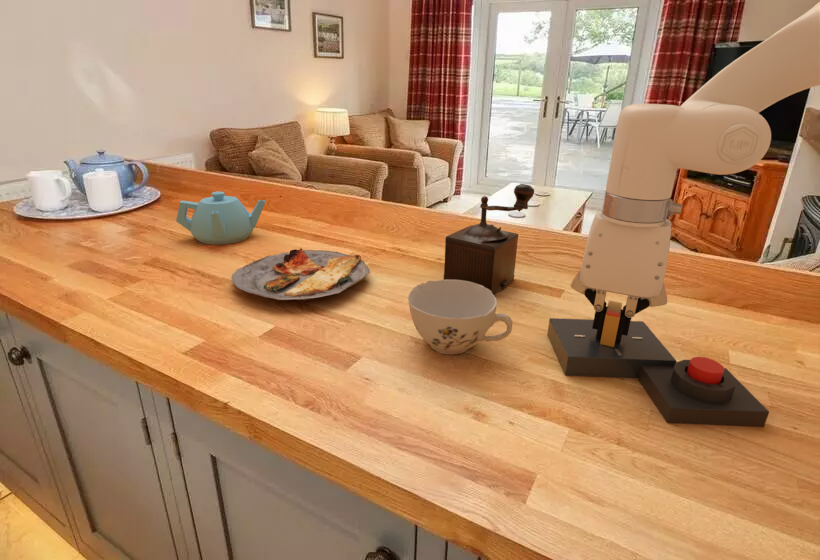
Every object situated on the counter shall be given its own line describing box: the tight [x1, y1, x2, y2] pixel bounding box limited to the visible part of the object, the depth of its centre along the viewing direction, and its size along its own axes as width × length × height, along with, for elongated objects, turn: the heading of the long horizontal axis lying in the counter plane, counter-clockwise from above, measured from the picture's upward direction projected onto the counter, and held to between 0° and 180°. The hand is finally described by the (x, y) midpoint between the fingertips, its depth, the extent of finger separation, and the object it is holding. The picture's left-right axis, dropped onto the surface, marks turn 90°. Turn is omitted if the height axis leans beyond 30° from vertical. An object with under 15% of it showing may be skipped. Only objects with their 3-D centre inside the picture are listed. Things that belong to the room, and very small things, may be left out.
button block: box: [637, 359, 770, 428], centre depth 60 cm, size 11×9×4 cm
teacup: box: [407, 279, 513, 355], centre depth 70 cm, size 15×12×8 cm
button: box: [687, 356, 725, 384], centre depth 59 cm, size 4×4×2 cm
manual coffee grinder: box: [443, 183, 535, 295], centre depth 93 cm, size 16×11×18 cm
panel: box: [546, 317, 677, 380], centre depth 70 cm, size 14×11×3 cm
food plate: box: [231, 247, 371, 301], centre depth 92 cm, size 25×23×4 cm
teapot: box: [175, 191, 266, 246], centre depth 115 cm, size 15×15×11 cm
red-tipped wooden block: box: [600, 300, 623, 347], centre depth 68 cm, size 5×2×5 cm, turn 155°
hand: (608, 335), depth 69 cm, fingers closed on red-tipped wooden block, 2 cm apart
